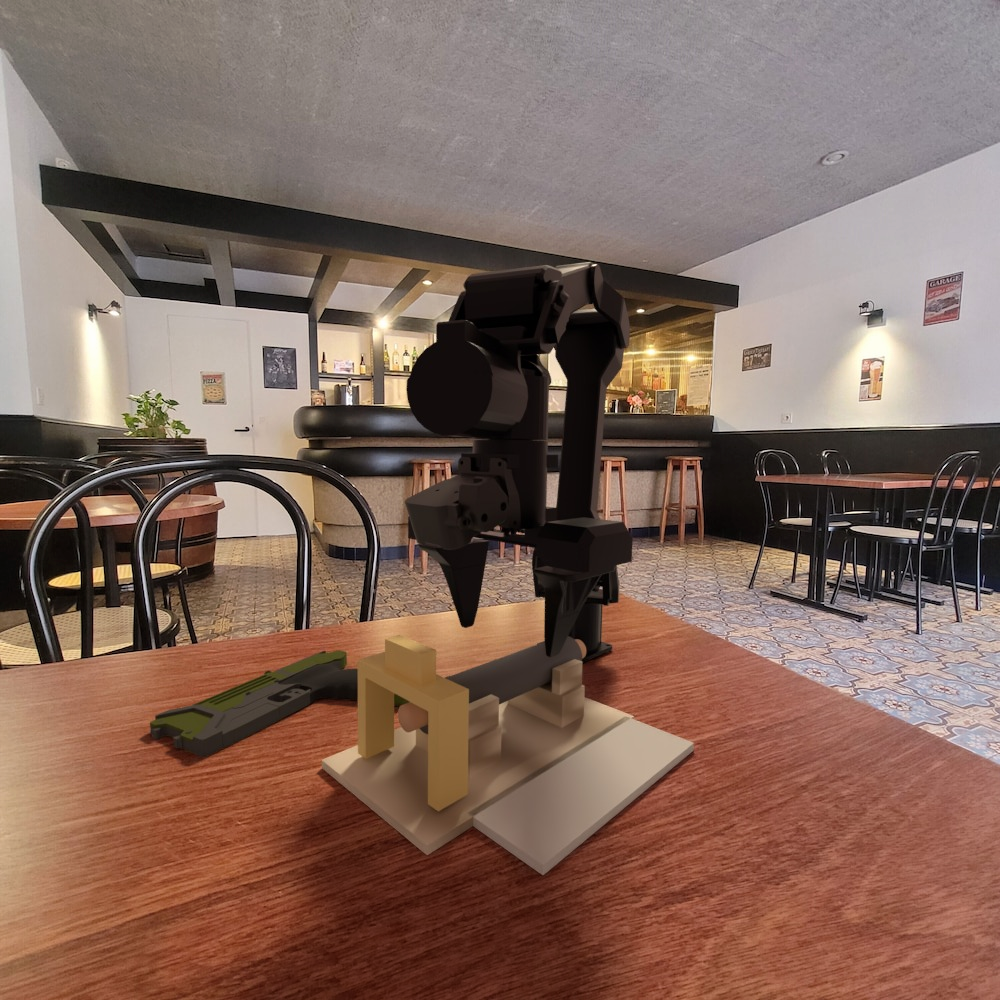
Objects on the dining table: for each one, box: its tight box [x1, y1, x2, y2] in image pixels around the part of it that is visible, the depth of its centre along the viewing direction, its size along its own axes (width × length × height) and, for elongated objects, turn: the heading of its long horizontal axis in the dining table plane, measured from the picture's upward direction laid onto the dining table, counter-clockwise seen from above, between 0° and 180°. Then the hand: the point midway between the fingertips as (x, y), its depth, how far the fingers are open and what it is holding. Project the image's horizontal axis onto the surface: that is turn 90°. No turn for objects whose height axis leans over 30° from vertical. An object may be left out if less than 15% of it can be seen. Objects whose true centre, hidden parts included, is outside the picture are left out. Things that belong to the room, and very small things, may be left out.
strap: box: [357, 634, 469, 811], centre depth 37 cm, size 2×9×9 cm, turn 46°
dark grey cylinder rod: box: [397, 636, 586, 734], centre depth 44 cm, size 19×3×3 cm, turn 136°
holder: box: [321, 645, 635, 856], centre depth 43 cm, size 22×12×5 cm, turn 136°
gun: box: [149, 649, 410, 758], centre depth 48 cm, size 2×19×15 cm
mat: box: [470, 718, 695, 876], centre depth 38 cm, size 18×6×1 cm, turn 136°
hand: (506, 640), depth 43 cm, fingers open, 9 cm apart
